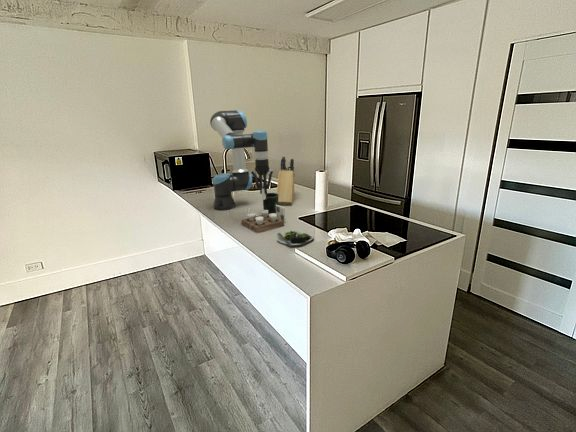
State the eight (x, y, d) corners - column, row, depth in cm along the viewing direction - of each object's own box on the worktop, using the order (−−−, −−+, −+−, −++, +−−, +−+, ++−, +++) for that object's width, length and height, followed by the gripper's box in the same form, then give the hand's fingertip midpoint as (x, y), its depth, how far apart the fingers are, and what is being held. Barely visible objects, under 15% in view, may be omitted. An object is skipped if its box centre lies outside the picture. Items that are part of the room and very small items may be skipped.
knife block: (295, 193, 252) (294, 155, 242) (291, 206, 219) (290, 161, 209) (281, 193, 253) (280, 155, 244) (275, 206, 220) (274, 162, 210)
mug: (264, 215, 200) (263, 197, 196) (261, 209, 214) (260, 192, 210) (281, 214, 202) (280, 196, 198) (276, 208, 216) (276, 191, 212)
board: (241, 224, 185) (241, 219, 184) (267, 218, 195) (267, 213, 194) (257, 233, 171) (257, 227, 170) (284, 225, 181) (283, 220, 180)
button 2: (254, 225, 177) (254, 217, 176) (261, 223, 180) (260, 215, 178) (258, 227, 174) (258, 219, 172) (265, 225, 176) (264, 217, 175)
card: (276, 218, 194) (275, 204, 191) (280, 217, 196) (280, 203, 193) (284, 222, 187) (284, 208, 184) (289, 221, 189) (288, 206, 186)
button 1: (246, 221, 184) (246, 213, 183) (253, 219, 187) (252, 212, 185) (250, 223, 181) (249, 215, 179) (257, 221, 183) (256, 214, 182)
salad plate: (266, 241, 161) (266, 232, 160) (290, 231, 174) (290, 223, 172) (294, 251, 149) (294, 242, 147) (318, 239, 161) (318, 231, 159)
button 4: (267, 222, 182) (267, 214, 181) (274, 220, 185) (273, 212, 183) (272, 224, 179) (271, 216, 177) (278, 222, 181) (278, 214, 180)
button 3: (259, 218, 189) (259, 210, 188) (266, 216, 192) (265, 209, 190) (263, 220, 186) (263, 212, 184) (270, 218, 188) (269, 210, 187)
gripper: (248, 159, 175) (251, 200, 182) (271, 159, 173) (273, 200, 180) (252, 158, 182) (255, 197, 189) (274, 157, 180) (276, 197, 187)
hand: (264, 199), depth 185 cm, fingers closed
